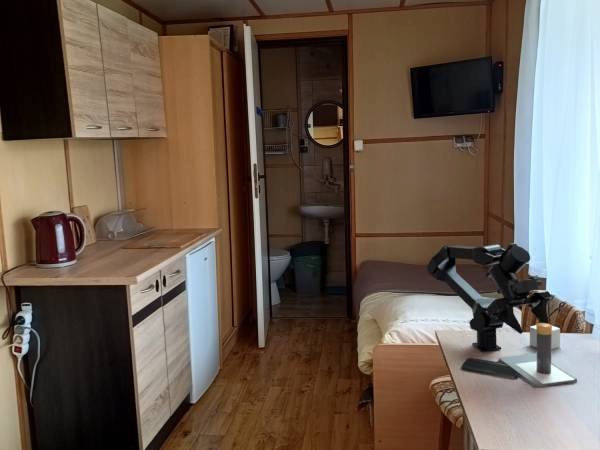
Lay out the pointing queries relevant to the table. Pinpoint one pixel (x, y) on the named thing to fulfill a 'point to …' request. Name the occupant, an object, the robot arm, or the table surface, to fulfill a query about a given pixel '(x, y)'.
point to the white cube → (554, 338)
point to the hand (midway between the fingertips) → (535, 330)
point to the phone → (489, 368)
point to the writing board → (528, 370)
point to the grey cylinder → (544, 347)
